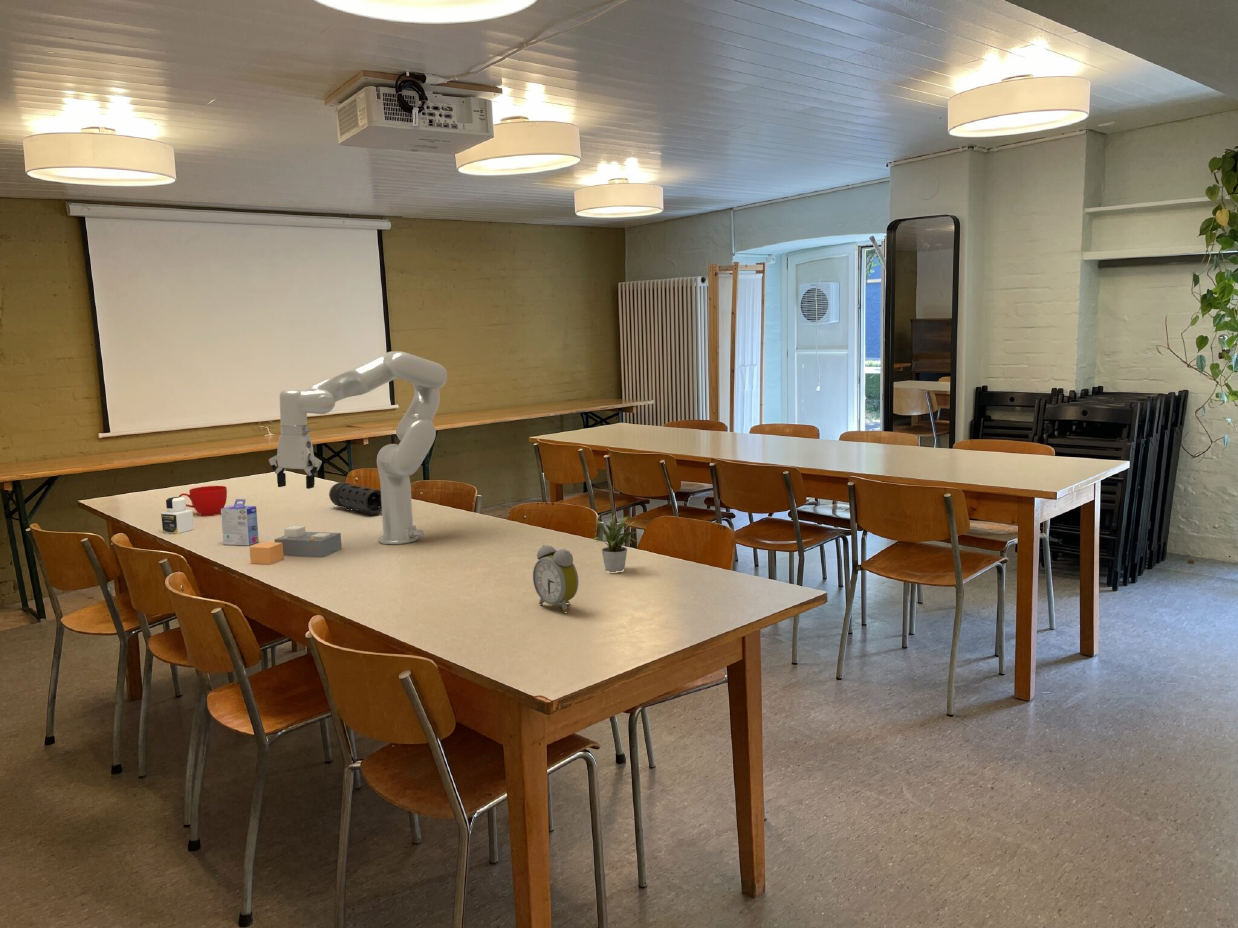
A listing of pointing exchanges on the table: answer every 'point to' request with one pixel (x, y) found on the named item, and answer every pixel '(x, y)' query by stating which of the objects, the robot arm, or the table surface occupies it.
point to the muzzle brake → (356, 498)
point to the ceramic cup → (207, 499)
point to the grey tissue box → (310, 545)
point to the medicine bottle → (177, 516)
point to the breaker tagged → (321, 535)
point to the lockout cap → (266, 553)
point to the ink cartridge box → (239, 524)
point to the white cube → (294, 531)
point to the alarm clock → (555, 576)
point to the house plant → (614, 545)
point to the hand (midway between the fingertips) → (296, 487)
